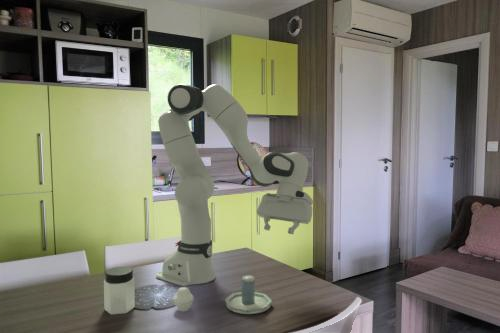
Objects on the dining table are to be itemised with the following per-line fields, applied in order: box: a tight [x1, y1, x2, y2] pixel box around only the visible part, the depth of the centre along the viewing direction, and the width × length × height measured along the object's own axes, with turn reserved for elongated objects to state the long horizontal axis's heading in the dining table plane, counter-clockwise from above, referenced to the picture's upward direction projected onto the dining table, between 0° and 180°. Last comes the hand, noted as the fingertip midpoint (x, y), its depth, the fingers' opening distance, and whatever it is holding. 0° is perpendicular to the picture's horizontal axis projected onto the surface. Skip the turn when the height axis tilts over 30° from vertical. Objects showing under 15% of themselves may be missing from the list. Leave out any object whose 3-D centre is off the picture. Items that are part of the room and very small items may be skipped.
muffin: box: [172, 286, 194, 312], centre depth 122 cm, size 6×6×7 cm
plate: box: [224, 291, 273, 315], centre depth 126 cm, size 14×14×2 cm
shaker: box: [241, 275, 256, 305], centre depth 125 cm, size 4×4×8 cm
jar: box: [103, 266, 136, 315], centre depth 122 cm, size 9×8×12 cm
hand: (278, 231), depth 138 cm, fingers open, 8 cm apart
